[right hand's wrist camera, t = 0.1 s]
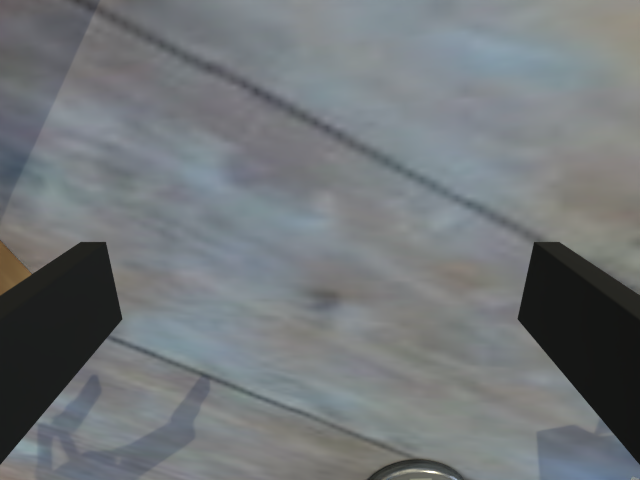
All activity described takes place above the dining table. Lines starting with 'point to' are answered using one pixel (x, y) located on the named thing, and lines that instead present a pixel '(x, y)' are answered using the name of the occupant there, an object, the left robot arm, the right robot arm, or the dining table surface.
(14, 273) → the box
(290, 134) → the dining table surface
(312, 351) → the dining table surface
